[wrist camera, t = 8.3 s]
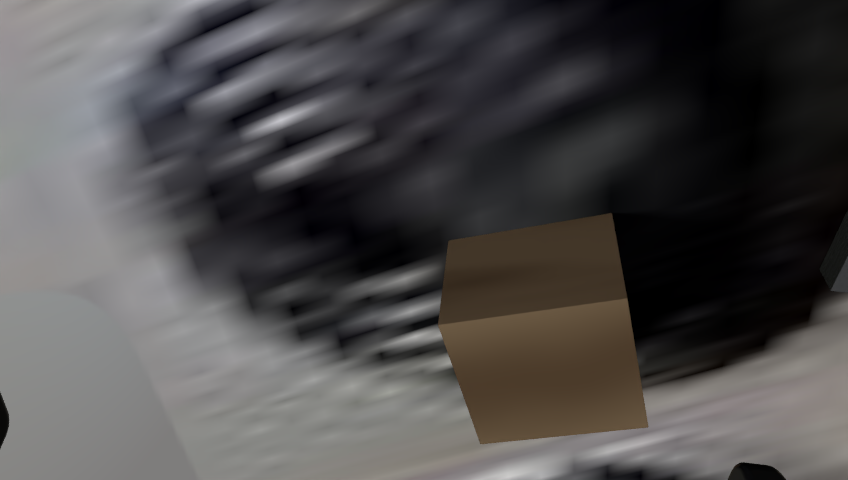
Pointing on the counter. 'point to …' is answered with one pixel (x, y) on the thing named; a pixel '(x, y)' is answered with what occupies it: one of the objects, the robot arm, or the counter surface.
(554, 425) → the walnut block
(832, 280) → the cup bracket
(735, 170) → the counter surface
